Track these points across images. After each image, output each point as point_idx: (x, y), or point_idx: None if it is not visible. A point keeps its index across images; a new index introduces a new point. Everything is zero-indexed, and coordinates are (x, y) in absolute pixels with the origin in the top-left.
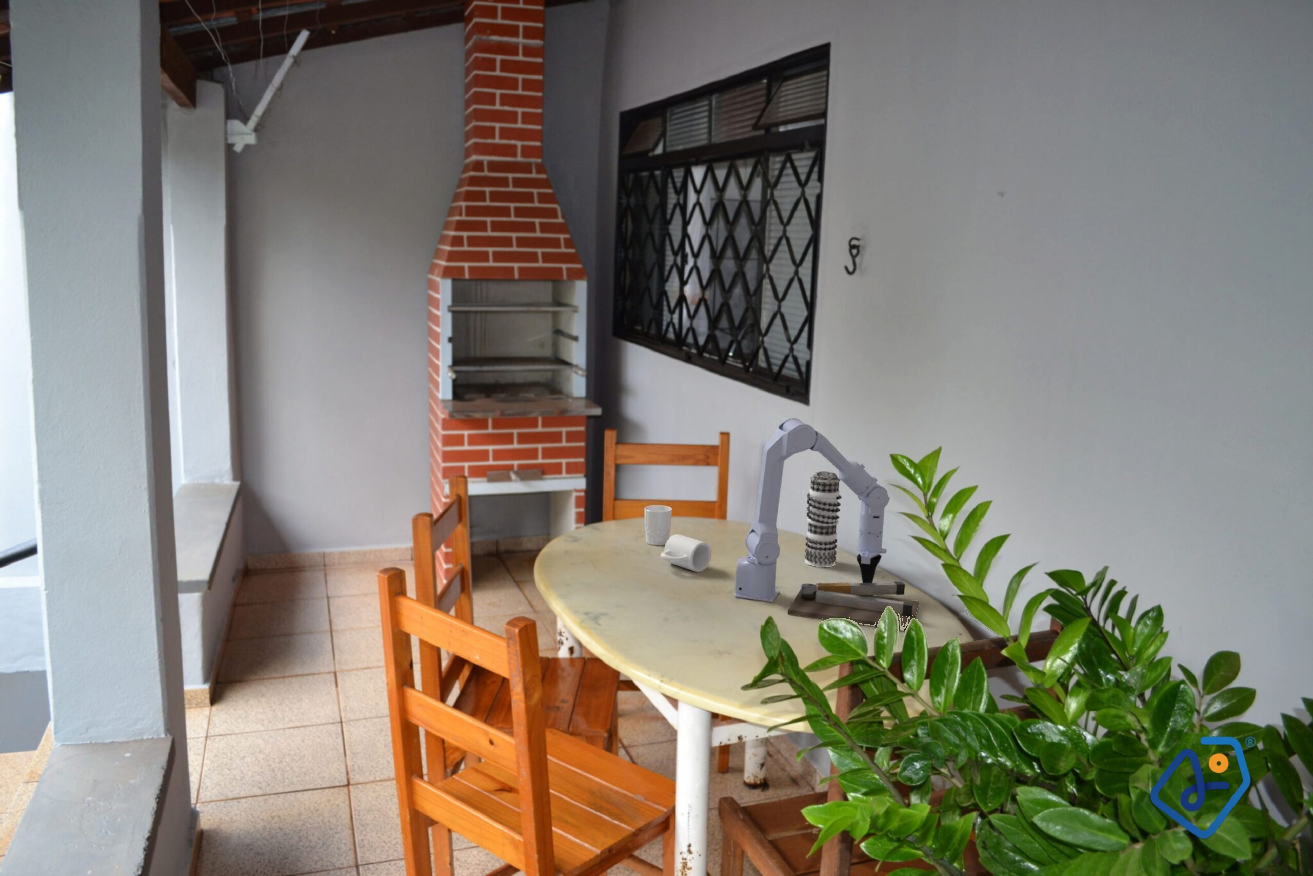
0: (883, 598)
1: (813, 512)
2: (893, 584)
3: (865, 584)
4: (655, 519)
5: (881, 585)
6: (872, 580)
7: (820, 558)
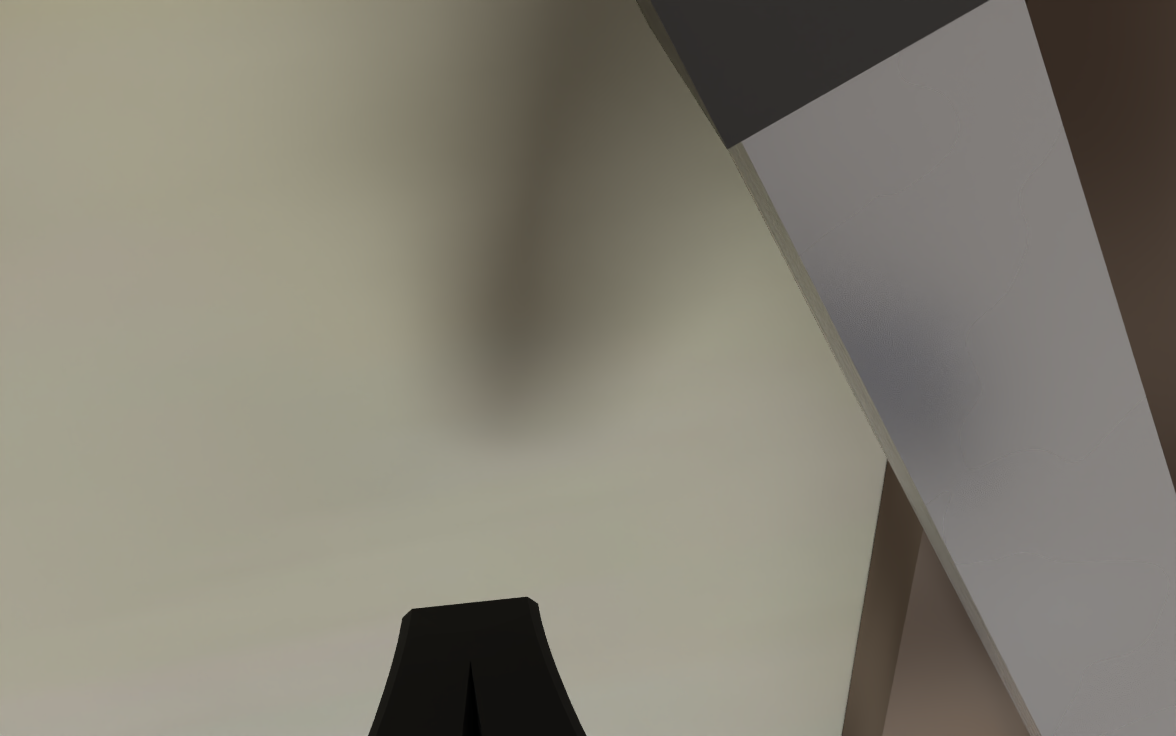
0: (1120, 178)
1: None
2: (1033, 110)
3: (1169, 727)
4: None
5: (1152, 425)
6: (550, 670)
7: None
